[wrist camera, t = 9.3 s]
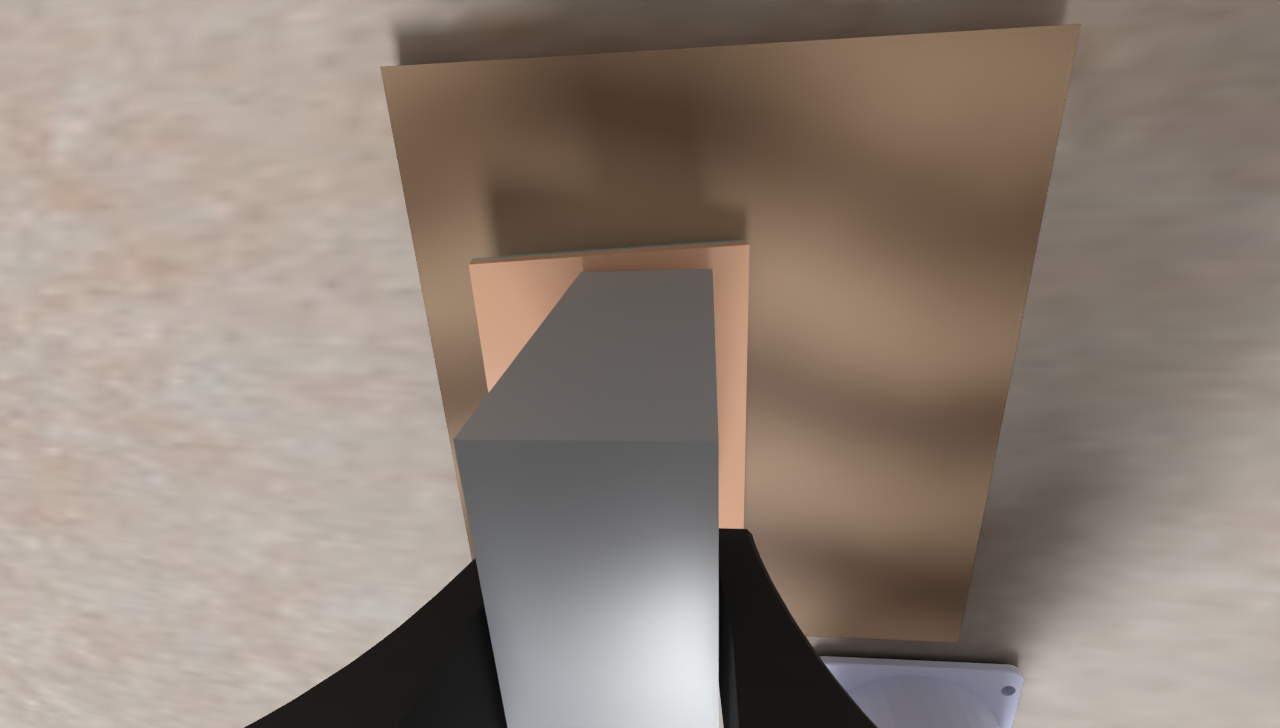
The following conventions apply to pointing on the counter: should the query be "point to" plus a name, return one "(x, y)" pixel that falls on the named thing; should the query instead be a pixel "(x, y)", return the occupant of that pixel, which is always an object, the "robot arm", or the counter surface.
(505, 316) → the tile
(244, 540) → the counter surface
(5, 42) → the counter surface
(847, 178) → the board
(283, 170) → the counter surface
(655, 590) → the grey rectangular block
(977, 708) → the robot arm
